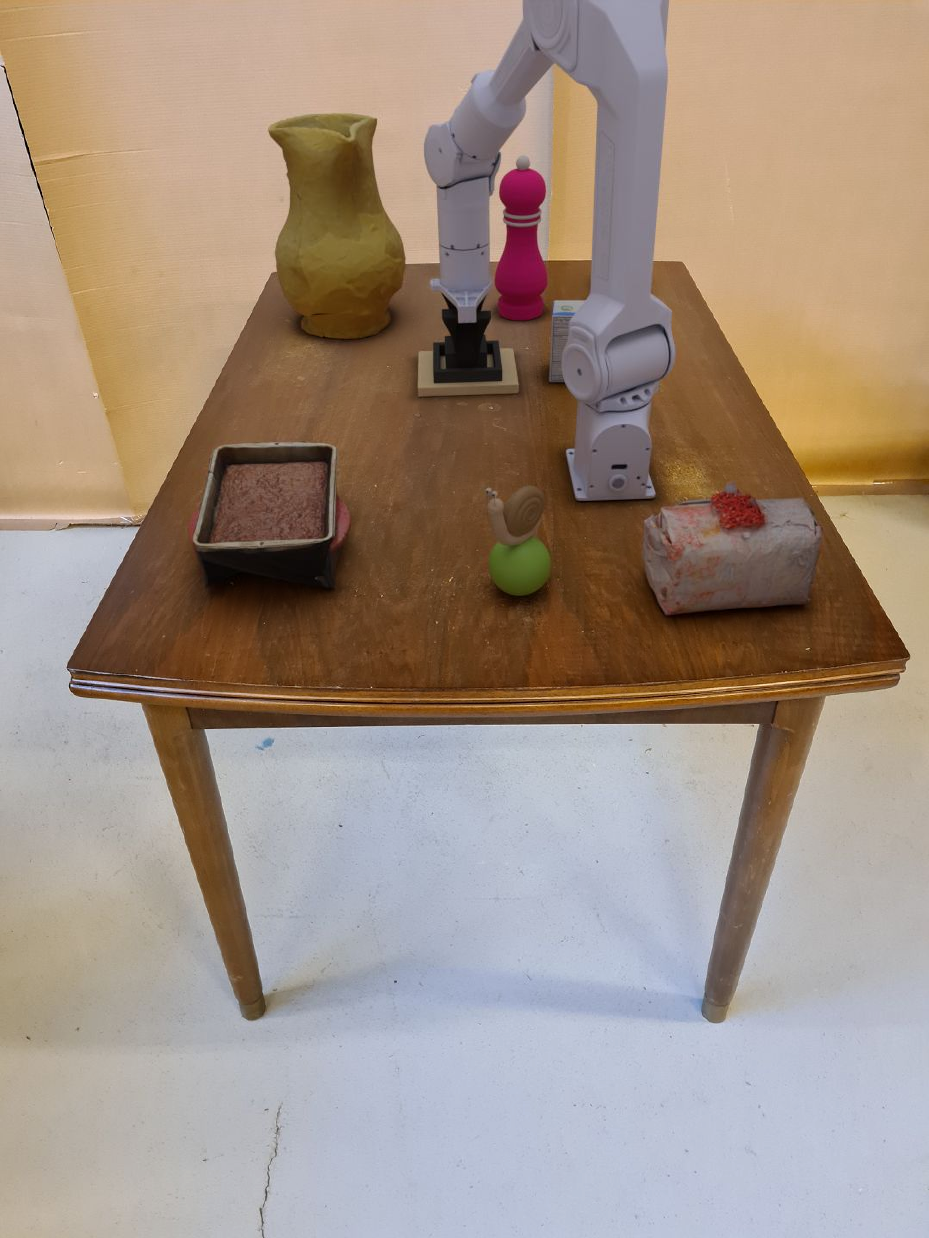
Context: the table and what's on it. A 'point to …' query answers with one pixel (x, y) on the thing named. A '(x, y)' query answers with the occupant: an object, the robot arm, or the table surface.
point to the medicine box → (560, 334)
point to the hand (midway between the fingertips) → (466, 356)
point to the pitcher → (336, 227)
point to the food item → (731, 552)
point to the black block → (451, 357)
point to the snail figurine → (518, 542)
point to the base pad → (467, 373)
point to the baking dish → (271, 513)
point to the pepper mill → (521, 244)
